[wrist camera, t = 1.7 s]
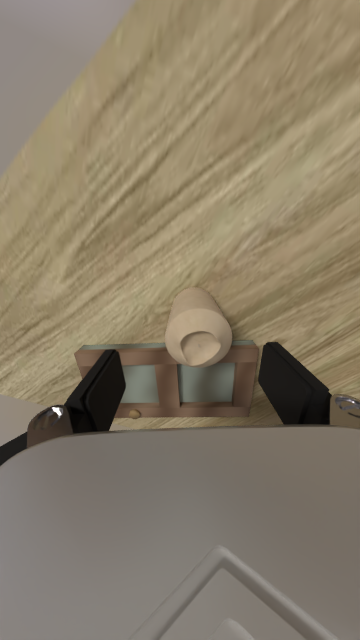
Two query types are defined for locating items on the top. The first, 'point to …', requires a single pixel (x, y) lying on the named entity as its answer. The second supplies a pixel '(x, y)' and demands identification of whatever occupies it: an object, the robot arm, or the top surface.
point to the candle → (197, 329)
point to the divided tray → (179, 381)
